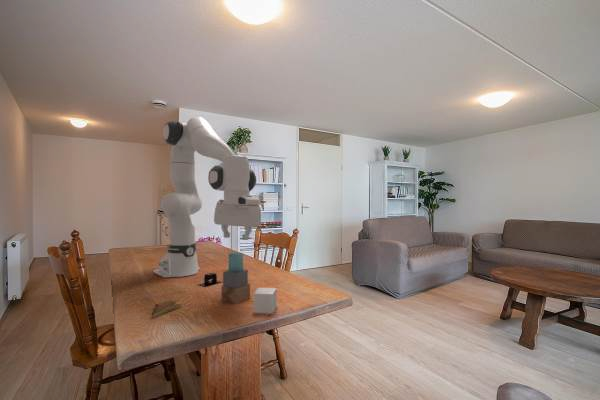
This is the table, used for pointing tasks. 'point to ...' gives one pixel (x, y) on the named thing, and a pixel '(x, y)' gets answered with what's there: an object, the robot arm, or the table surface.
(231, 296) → the tower lower block
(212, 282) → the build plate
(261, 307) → the white cube
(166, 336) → the table surface
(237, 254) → the teal cylinder
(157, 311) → the shard
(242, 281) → the tower upper block
